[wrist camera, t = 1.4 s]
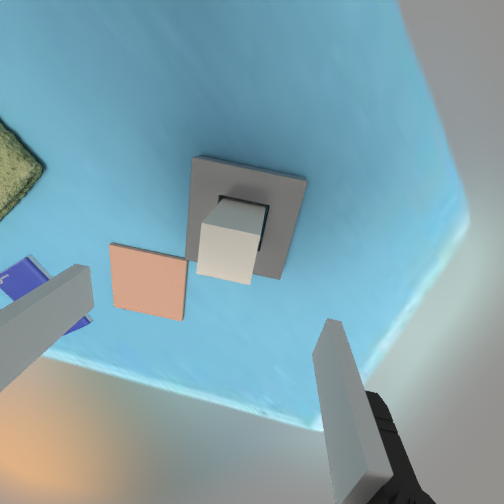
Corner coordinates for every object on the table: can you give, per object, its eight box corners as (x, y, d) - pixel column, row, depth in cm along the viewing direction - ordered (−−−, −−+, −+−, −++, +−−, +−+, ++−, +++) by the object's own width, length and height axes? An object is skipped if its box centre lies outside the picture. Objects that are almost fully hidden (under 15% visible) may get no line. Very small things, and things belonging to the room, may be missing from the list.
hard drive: (-12, 279, 35) (53, 340, 39) (23, 258, 33) (88, 324, 37) (-1, 274, 36) (61, 333, 41) (34, 253, 34) (95, 317, 38)
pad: (111, 242, 31) (109, 244, 31) (188, 259, 31) (186, 261, 31) (116, 304, 36) (114, 306, 35) (183, 318, 36) (181, 321, 35)
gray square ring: (199, 155, 26) (192, 157, 23) (305, 177, 26) (307, 181, 23) (191, 250, 31) (184, 259, 28) (279, 269, 31) (280, 279, 28)
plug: (226, 193, 27) (201, 222, 18) (266, 202, 27) (260, 235, 18) (221, 230, 29) (196, 273, 20) (258, 238, 29) (249, 285, 20)
